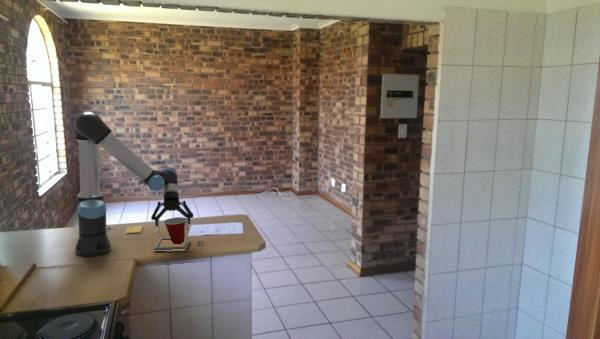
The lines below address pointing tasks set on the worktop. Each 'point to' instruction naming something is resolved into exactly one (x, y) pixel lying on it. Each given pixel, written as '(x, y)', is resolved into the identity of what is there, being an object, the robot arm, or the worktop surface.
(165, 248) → the tray
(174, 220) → the plastic cup
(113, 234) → the worktop surface
